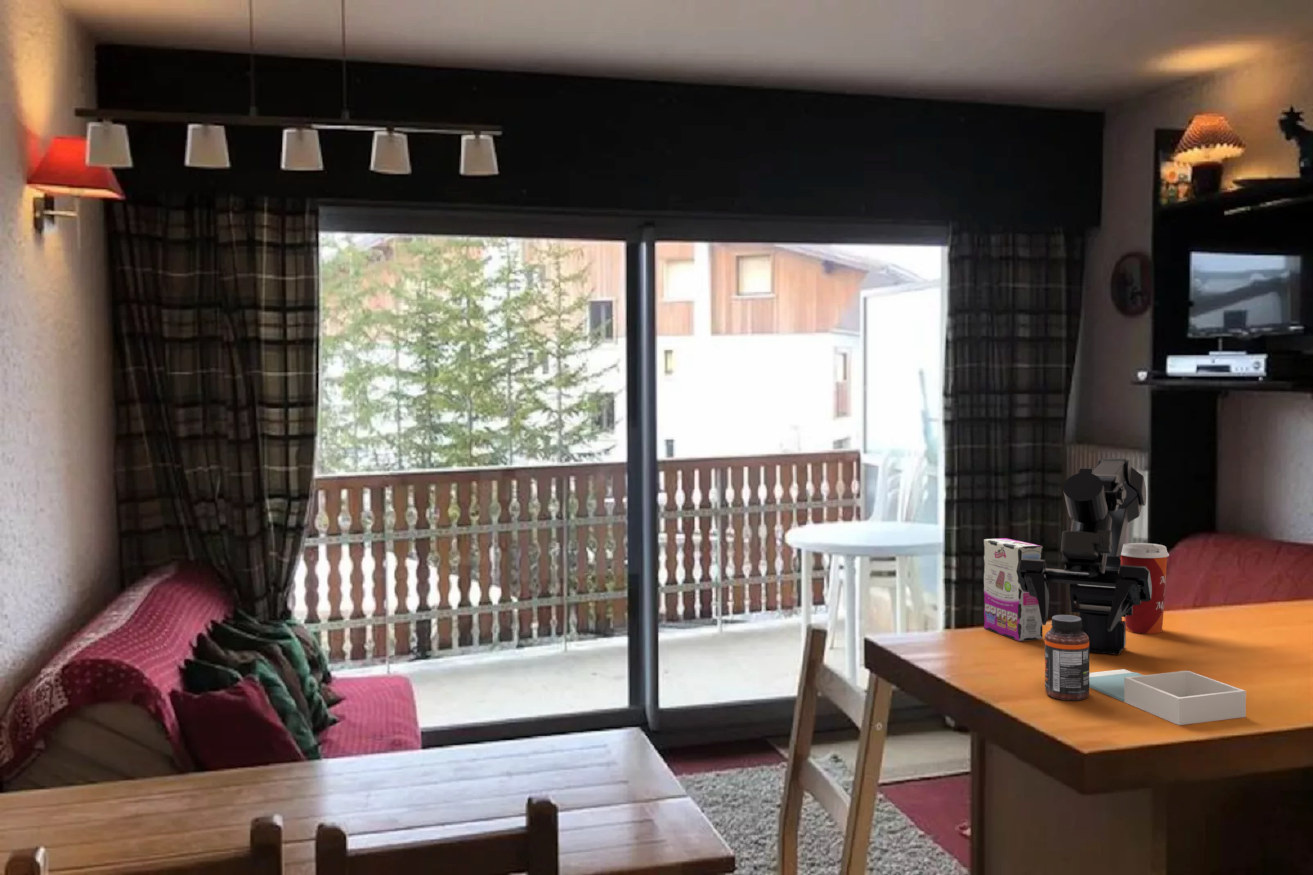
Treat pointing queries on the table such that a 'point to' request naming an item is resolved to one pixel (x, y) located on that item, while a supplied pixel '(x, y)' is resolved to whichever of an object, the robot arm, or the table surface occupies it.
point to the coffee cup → (1155, 560)
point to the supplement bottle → (1067, 659)
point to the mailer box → (1173, 695)
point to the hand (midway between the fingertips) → (1075, 626)
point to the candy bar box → (1009, 590)
